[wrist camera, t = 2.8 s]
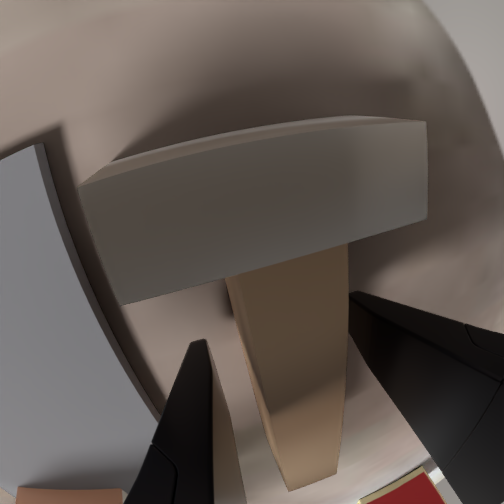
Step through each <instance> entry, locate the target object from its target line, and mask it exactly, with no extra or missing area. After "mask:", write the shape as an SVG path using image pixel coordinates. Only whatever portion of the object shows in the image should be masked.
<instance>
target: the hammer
mask: <svg viewBox="0 0 504 504" xmlns="http://www.w3.org/2000/svg"><path fill="white" fill-rule="evenodd" d="M77 190H78V193H79V197H80V200H81V203H82V207H83V210H84V213H85V216H86V219H87V222H88V225H89V228H90V231H91V234H92V237H93V240H94V242H95V245H96V248H97V251H98V253H99V256H100V259H101V261H102V264H103V267H104V269H105V272H106V274H107V277H108V279H109V282H110V284H111V287H112V289H113V291H114V294H115V296H116V298H117V301H118V303H119V305H120V306H122V305H126V304H130V303H134V302H138V301H141V300H145V299H149V298H153V297H156V296H160V295H164V294H168V293H171V292H175V291H179V290H183V289H186V288H190V287H194V286H197V285H201V284H205V283H208V282H212V281H216V280H219V279H223V278H225V281H226V285H227V289H228V293H229V297H230V301H231V305H232V309H233V313H234V317H235V321H236V325H237V329H238V333H239V337H240V341H241V345H242V349H243V353H244V356H245V360H246V364H247V368H248V372H249V375H250V379H251V383H252V387H253V390H254V394H255V398H256V401H257V405H258V409H259V412H260V416H261V419H262V423H263V426H264V430H265V434H266V437H267V440H268V442H269V445H270V447H271V450H272V453H273V455H274V458H275V460H276V462H277V465H278V467H279V470H280V472H281V475H282V477H283V480H284V482H285V484H286V487H287V489H288V492H290V491H293V490H296V489H299V488H301V487H304V486H307V485H310V484H312V483H315V482H317V481H320V480H323V479H325V478H327V477H330V476H332V475H335V474H336V473H337V466H338V458H339V450H340V442H341V433H342V423H343V412H344V400H345V387H346V371H347V350H348V313H349V273H348V243H349V242H353V241H356V240H359V239H363V238H366V237H369V236H373V235H376V234H379V233H383V232H386V231H389V230H393V229H396V228H399V227H403V226H406V225H409V224H413V223H416V222H419V221H422V220H426V219H427V208H428V148H427V128H426V121H419V120H409V119H399V118H387V117H373V116H354V115H345V116H334V117H324V118H316V119H307V120H300V121H292V122H285V123H278V124H272V125H266V126H260V127H254V128H248V129H243V130H237V131H232V132H227V133H222V134H217V135H212V136H208V137H203V138H199V139H194V140H190V141H186V142H182V143H178V144H173V145H169V146H166V147H162V148H158V149H154V150H150V151H147V152H143V153H140V154H136V155H133V156H129V157H126V158H123V159H119V160H116V161H113V162H110V163H109V164H107V165H106V166H104V167H103V168H102V169H100V170H99V171H98V172H96V173H95V174H94V175H92V176H91V177H90V178H88V179H87V180H86V181H85V182H83V183H82V184H81V185H79V186H78V187H77Z"/></svg>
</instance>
